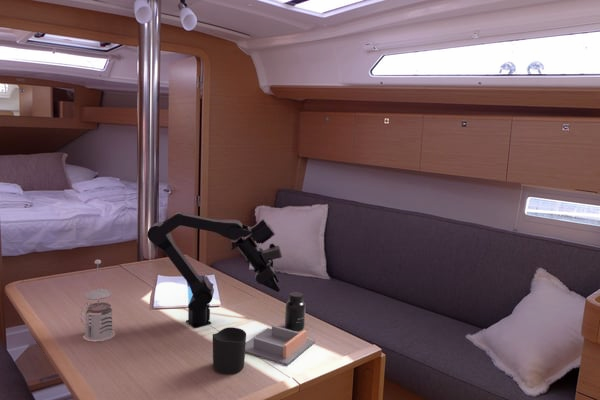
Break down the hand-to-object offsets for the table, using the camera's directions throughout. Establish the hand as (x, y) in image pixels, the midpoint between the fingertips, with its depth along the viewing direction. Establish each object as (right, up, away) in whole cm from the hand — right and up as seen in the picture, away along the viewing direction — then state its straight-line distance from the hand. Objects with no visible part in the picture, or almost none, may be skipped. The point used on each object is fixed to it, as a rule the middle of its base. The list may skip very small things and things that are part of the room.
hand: (278, 286), depth 166 cm
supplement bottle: (+6, -14, -1) cm, 15 cm away
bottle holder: (0, -16, -15) cm, 22 cm away
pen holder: (-13, -18, -29) cm, 37 cm away
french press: (-57, -14, -14) cm, 60 cm away
